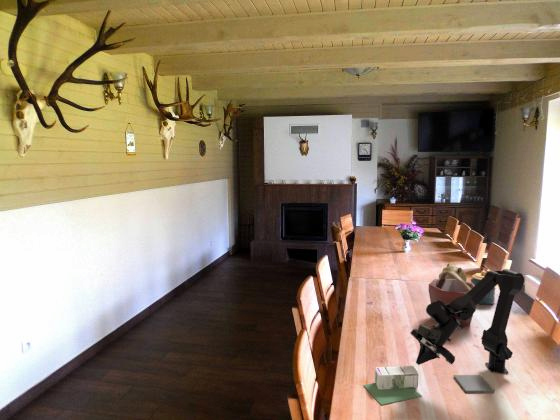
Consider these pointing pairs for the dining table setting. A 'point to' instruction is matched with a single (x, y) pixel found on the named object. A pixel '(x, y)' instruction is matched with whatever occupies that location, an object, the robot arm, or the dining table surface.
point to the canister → (491, 295)
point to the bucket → (449, 291)
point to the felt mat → (391, 394)
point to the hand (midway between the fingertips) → (417, 363)
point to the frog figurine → (454, 269)
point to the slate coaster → (473, 384)
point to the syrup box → (396, 377)
